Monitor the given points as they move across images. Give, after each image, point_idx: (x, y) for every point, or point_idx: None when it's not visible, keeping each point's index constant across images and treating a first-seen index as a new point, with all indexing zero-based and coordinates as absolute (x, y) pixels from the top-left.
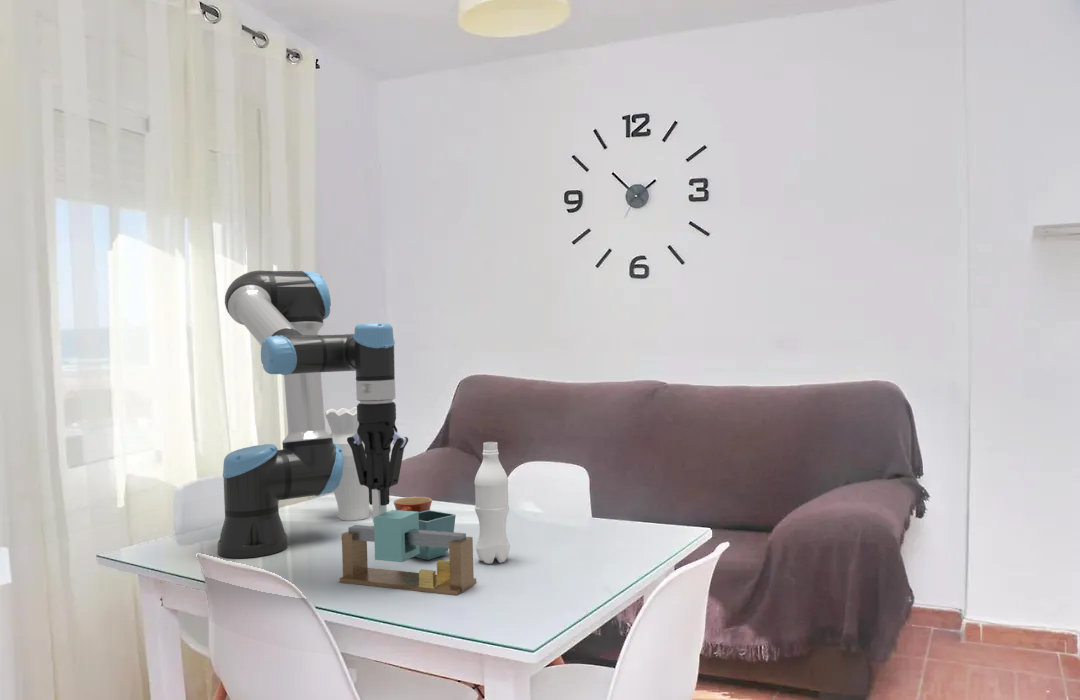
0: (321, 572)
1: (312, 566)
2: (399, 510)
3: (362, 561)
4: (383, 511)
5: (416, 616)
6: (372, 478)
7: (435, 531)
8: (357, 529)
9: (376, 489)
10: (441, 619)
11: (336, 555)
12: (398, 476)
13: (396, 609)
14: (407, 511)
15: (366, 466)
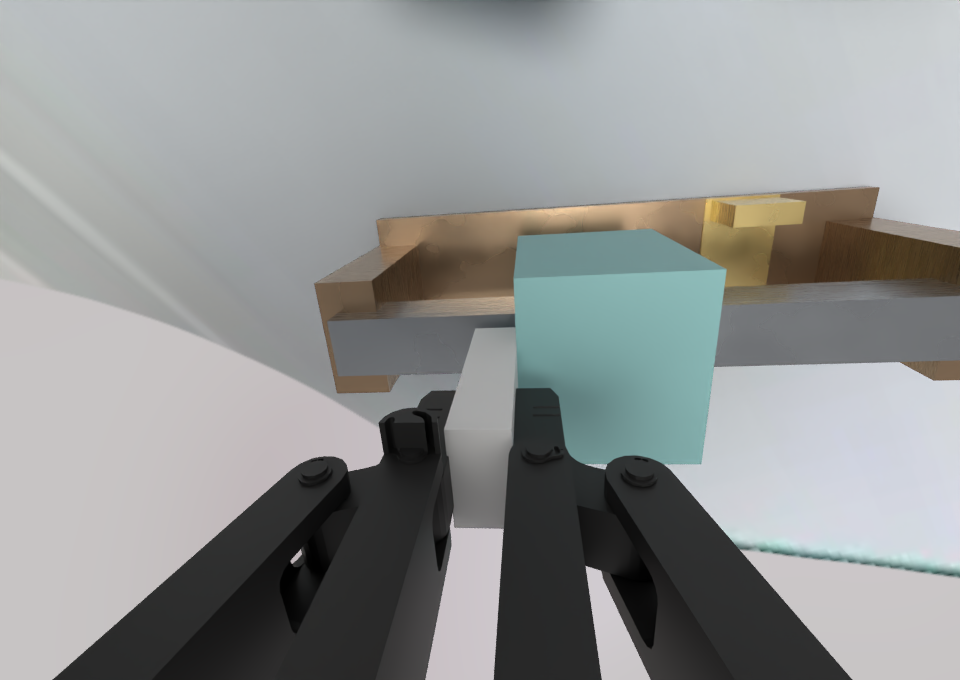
0: (267, 279)
1: (184, 233)
2: (570, 277)
3: (412, 283)
4: (517, 381)
5: (776, 500)
6: (439, 600)
7: (836, 310)
8: (390, 372)
9: (489, 517)
10: (854, 500)
11: (128, 69)
12: (708, 526)
13: (698, 475)
14: (644, 288)
15: (233, 631)
